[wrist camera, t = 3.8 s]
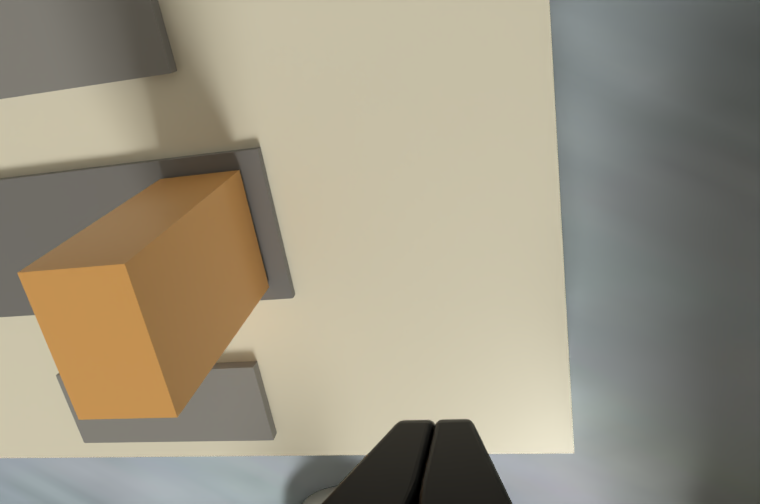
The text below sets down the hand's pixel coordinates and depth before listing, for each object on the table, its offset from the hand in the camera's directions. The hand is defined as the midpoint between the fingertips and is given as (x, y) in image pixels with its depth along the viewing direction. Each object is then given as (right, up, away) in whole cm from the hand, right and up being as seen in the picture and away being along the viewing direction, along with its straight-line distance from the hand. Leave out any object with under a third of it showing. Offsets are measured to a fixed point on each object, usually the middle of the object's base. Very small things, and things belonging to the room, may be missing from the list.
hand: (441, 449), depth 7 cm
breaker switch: (-5, +3, +8) cm, 10 cm away
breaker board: (-7, +4, +12) cm, 14 cm away
